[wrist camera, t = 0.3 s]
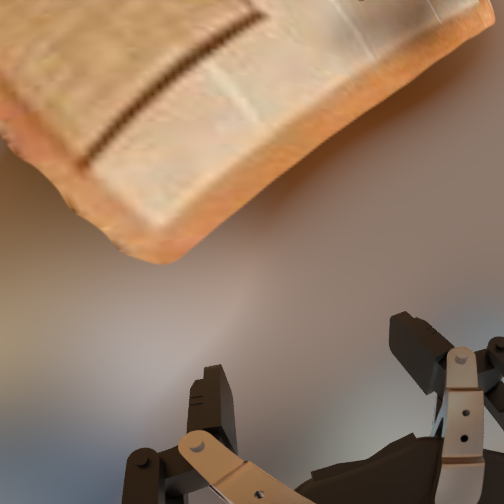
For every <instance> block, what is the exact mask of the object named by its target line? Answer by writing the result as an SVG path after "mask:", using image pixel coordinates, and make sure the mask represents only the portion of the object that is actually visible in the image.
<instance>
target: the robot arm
mask: <svg viewBox="0 0 504 504" xmlns="http://www.w3.org/2000/svg"><path fill="white" fill-rule="evenodd" d="M389 347H390V350H391V352H392V354H393V355H394V356H395V357H396V358H397V360H398V361H399V362H400V363H401V364H402V366H403V367H404V368H405V369H406V371H407V372H408V373H409V374H410V375H411V377H412V378H413V379H414V380H415V382H416V383H417V384H418V385H419V387H420V388H421V389H422V390H423V392H424V393H425V394H426V395H428V394H430V393H432V392H434V391H435V392H436V393H437V395H436V400H435V408H434V416H433V423H432V430H431V434H430V436H429V437H420V438H416V437H415V435H414V434H413V433H411V434H409V435H407V436H405V437H403V438H401V439H399V440H396V441H394V442H392V443H390V444H389V445H387V446H386V447H384V448H383V449H382V450H380V451H379V452H377V453H376V454H375V455H373V456H372V457H370V458H368V459H366V460H361V461H354V462H346V463H339V464H335V465H332V466H329V467H326V468H322V469H319V470H316V471H312V472H311V476H312V478H311V479H309V480H307V481H305V482H304V483H302V484H301V485H300V486H298V487H297V488H296V489H295V490H292V489H290V488H289V487H287V486H286V485H284V484H282V483H281V482H279V481H278V480H276V479H275V478H273V477H272V476H270V475H269V474H267V473H266V472H265V471H263V470H262V469H260V468H259V467H257V466H256V465H255V464H253V463H251V462H250V461H246V462H245V461H243V460H242V459H240V458H239V457H238V450H237V441H236V429H235V417H234V405H233V396H232V392H231V389H230V386H229V384H228V381H227V378H226V376H225V373H224V370H223V368H222V365H221V364H219V365H214V366H209V367H205V368H204V379H200V380H195V382H194V383H193V385H192V387H191V388H190V397H189V398H190V399H189V409H188V422H187V433H186V435H184V436H183V437H182V438H181V440H180V441H179V444H178V445H177V446H176V447H173V448H171V449H168V450H165V451H162V452H159V453H157V452H156V451H155V450H153V449H150V448H140V449H138V450H135V451H134V452H132V453H131V455H130V456H129V457H128V459H127V464H126V471H125V479H124V487H123V495H122V504H188V493H190V492H193V491H196V490H199V489H202V488H204V487H207V486H209V487H210V488H211V489H212V490H213V491H214V492H215V493H216V494H217V495H218V496H219V497H220V498H222V499H223V500H224V501H225V502H226V503H227V504H504V453H501V452H496V451H491V450H487V449H483V438H484V406H485V407H486V408H487V409H488V411H489V412H490V413H491V415H492V416H493V417H494V418H495V420H496V421H497V422H498V424H499V425H500V426H501V428H502V429H503V430H504V383H503V382H502V381H501V379H502V377H504V337H494V338H492V339H491V340H490V341H489V343H488V346H487V349H483V350H479V351H476V352H473V351H472V350H471V349H469V348H467V347H454V346H453V345H452V344H451V343H450V342H449V341H448V340H447V339H445V338H444V337H443V336H442V335H441V334H440V333H439V332H437V330H435V329H434V328H432V326H431V325H430V324H429V323H427V322H426V321H424V320H422V319H420V318H417V317H416V318H413V317H412V316H411V315H410V314H409V313H407V312H406V311H404V312H401V313H399V314H396V315H393V316H391V318H390V329H389Z"/></svg>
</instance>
